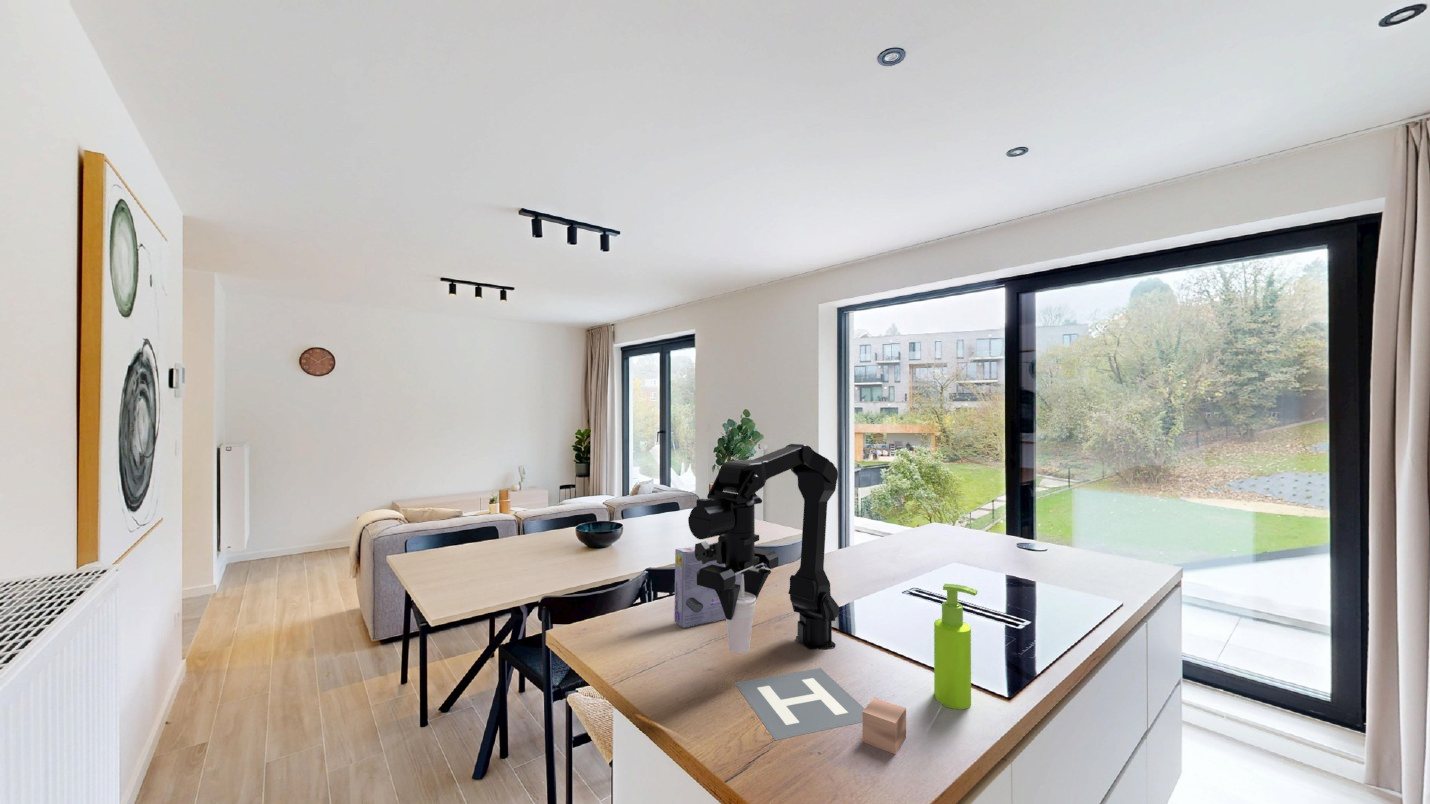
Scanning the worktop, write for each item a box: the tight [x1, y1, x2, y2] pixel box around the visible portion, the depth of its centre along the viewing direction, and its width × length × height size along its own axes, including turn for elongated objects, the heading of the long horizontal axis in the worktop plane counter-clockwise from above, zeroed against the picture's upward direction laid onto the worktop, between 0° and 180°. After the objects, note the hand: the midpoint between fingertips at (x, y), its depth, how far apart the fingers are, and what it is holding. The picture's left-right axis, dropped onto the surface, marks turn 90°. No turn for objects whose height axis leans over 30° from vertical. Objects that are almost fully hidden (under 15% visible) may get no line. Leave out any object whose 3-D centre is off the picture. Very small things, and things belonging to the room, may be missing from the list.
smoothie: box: [725, 573, 757, 655], centre depth 99 cm, size 6×6×14 cm
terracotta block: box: [861, 697, 907, 755], centre depth 81 cm, size 5×5×5 cm
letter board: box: [733, 667, 866, 741], centre depth 92 cm, size 18×18×1 cm
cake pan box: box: [673, 546, 745, 629], centre depth 129 cm, size 19×5×18 cm, turn 121°
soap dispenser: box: [933, 583, 979, 710], centre depth 93 cm, size 6×7×20 cm
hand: (739, 613), depth 99 cm, fingers closed on smoothie, 6 cm apart
